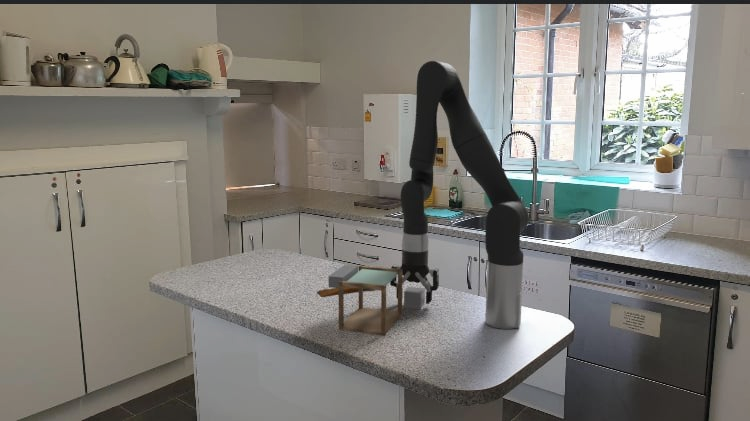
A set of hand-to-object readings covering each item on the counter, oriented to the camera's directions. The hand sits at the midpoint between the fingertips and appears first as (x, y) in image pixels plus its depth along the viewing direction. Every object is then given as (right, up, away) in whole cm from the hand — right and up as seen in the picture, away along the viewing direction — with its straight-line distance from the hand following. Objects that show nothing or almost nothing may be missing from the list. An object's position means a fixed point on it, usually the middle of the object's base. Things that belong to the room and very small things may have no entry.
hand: (413, 301), depth 170 cm
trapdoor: (-15, +7, -14) cm, 21 cm away
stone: (0, -1, 0) cm, 1 cm away
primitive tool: (-20, 0, +13) cm, 24 cm away
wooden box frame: (-12, -3, -13) cm, 18 cm away
